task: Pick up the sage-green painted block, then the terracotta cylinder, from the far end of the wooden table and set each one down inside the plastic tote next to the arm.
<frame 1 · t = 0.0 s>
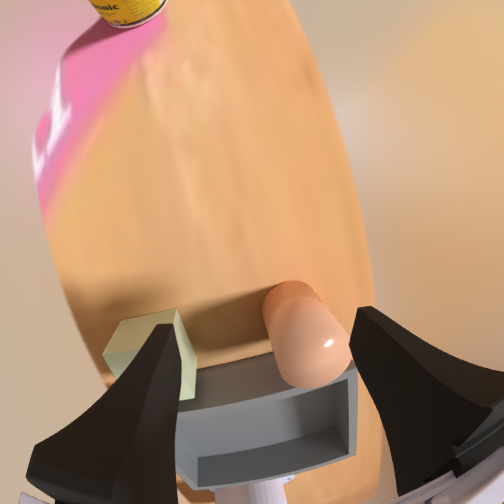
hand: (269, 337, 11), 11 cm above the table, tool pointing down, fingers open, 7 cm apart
terracotta cylinder: (290, 307, 22), on the table
tote: (253, 410, 25), on the table
supplement bottle: (136, 5, 14), on the table
green block: (159, 339, 22), on the table
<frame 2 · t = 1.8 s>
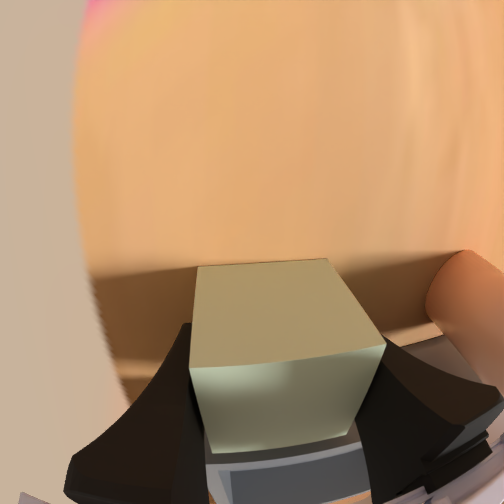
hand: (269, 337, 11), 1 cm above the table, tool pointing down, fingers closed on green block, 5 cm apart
terracotta cylinder: (455, 287, 13), on the table
tote: (337, 420, 17), on the table
green block: (263, 315, 12), on the table, touching gripper
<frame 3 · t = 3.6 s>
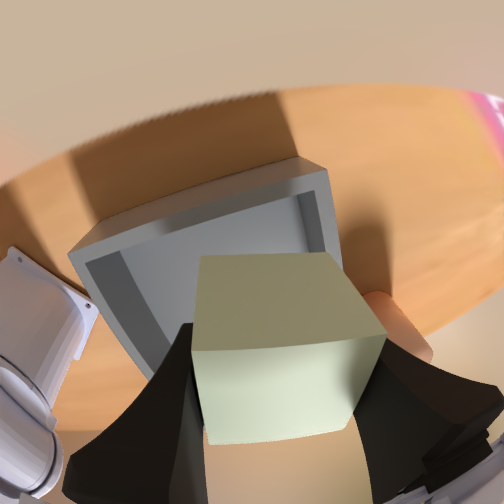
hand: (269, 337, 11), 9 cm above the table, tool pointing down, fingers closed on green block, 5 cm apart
terracotta cylinder: (369, 313, 23), on the table
tote: (233, 301, 21), on the table
green block: (263, 307, 12), point 8 cm above the table, touching gripper
when the fingers open (3 cm above the table, at t = 5.5 s): green block stays where it is, resting on tote.
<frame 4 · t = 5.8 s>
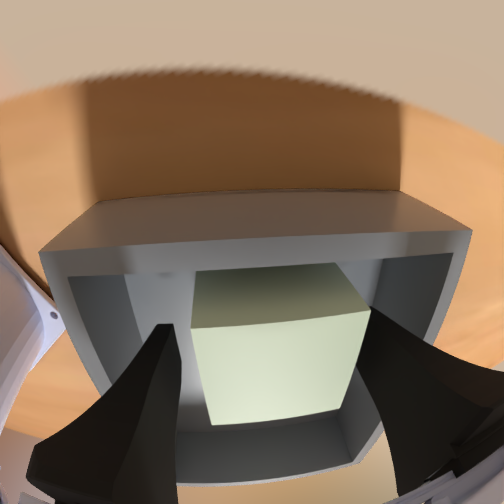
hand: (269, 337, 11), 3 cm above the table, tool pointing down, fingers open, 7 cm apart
tote: (258, 350, 15), on the table
green block: (260, 295, 13), point 1 cm above the table, touching tote
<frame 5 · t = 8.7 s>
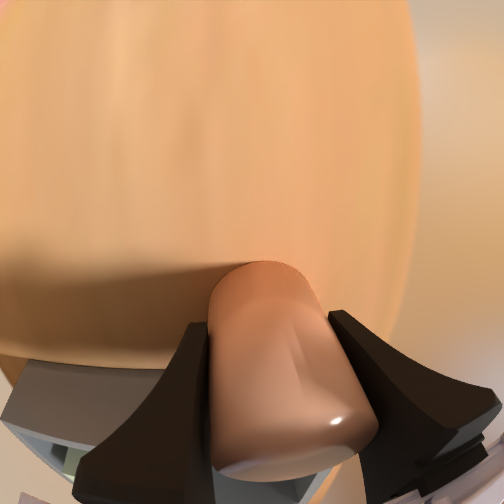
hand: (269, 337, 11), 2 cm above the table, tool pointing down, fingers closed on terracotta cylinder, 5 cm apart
terracotta cylinder: (261, 308, 12), on the table, touching gripper
tote: (179, 431, 16), on the table
green block: (122, 434, 15), point 1 cm above the table, touching tote
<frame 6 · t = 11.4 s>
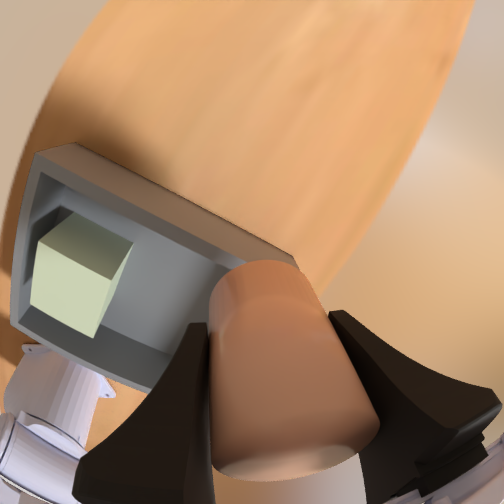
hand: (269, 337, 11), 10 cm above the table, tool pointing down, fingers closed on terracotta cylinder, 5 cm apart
terracotta cylinder: (262, 307, 12), point 8 cm above the table, touching gripper
tote: (144, 276, 20), on the table
green block: (93, 256, 19), point 1 cm above the table, touching tote
when the fingers open (3 cm above the table, at t = 14.0 s): terracotta cylinder stays where it is, resting on tote.
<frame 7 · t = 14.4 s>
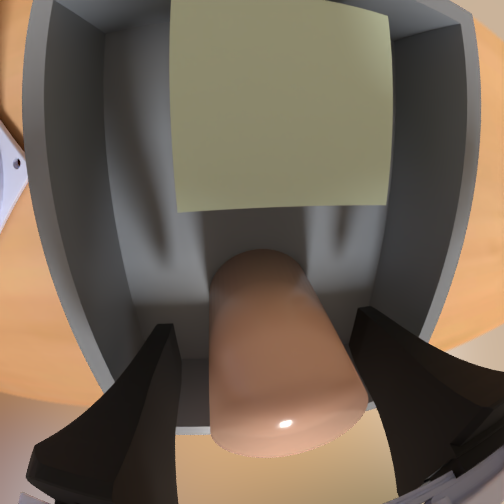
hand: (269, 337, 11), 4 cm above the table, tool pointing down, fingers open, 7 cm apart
terracotta cylinder: (259, 294, 13), point 1 cm above the table, touching tote
tote: (257, 206, 12), on the table
green block: (259, 106, 10), point 1 cm above the table, touching tote
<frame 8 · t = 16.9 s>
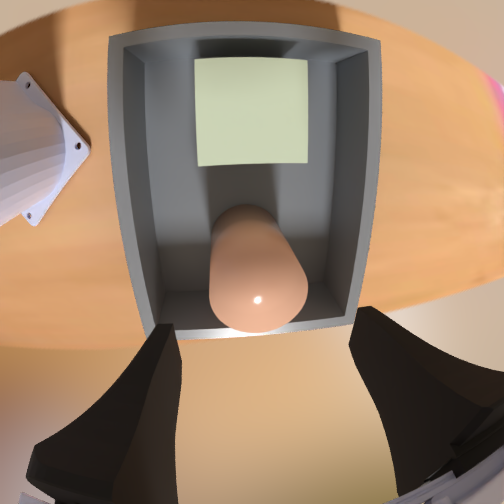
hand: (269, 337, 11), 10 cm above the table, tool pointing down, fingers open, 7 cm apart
terracotta cylinder: (245, 237, 19), point 1 cm above the table, touching tote
tote: (243, 177, 18), on the table
green block: (243, 113, 16), point 1 cm above the table, touching tote
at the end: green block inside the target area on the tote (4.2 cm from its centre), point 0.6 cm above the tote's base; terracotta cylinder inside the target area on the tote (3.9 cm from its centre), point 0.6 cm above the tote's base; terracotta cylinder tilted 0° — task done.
